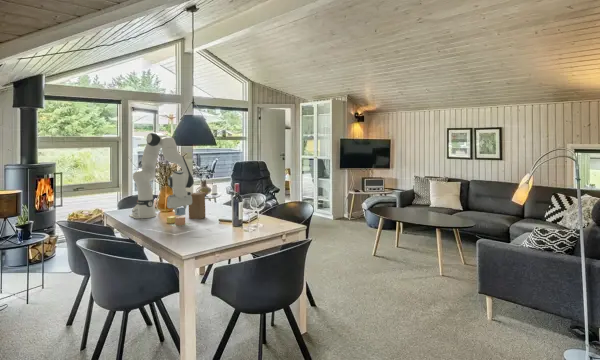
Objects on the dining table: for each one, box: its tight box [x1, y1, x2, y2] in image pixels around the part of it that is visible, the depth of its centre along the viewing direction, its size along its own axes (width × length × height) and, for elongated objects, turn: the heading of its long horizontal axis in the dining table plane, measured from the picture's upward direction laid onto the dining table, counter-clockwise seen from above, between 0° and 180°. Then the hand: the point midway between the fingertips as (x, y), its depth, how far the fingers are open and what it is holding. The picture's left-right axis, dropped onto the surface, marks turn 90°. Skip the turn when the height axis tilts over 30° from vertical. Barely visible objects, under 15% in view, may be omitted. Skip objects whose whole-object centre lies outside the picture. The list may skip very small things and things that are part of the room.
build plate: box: [169, 222, 192, 228], centre depth 272 cm, size 12×12×1 cm
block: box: [188, 192, 206, 220], centre depth 296 cm, size 10×10×20 cm
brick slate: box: [174, 206, 186, 217], centre depth 271 cm, size 5×5×5 cm
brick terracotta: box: [174, 216, 186, 225], centre depth 272 cm, size 5×5×5 cm
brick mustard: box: [166, 215, 178, 224], centre depth 279 cm, size 5×5×5 cm
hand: (180, 212), depth 271 cm, fingers closed on brick slate, 5 cm apart
